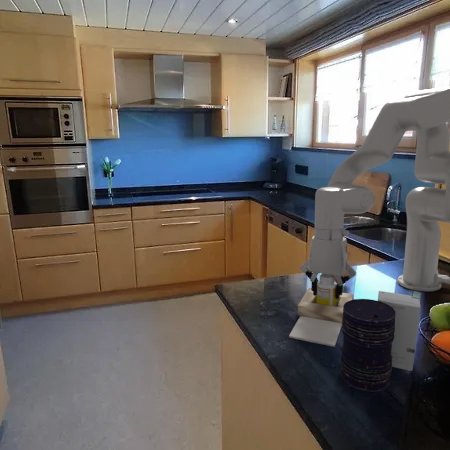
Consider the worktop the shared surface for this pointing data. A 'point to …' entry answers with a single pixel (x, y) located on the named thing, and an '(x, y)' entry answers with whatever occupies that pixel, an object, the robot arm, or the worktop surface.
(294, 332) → the pad
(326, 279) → the supplement bottle
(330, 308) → the socket block
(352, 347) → the dark blue cylinder
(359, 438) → the worktop surface
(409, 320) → the skincare box
